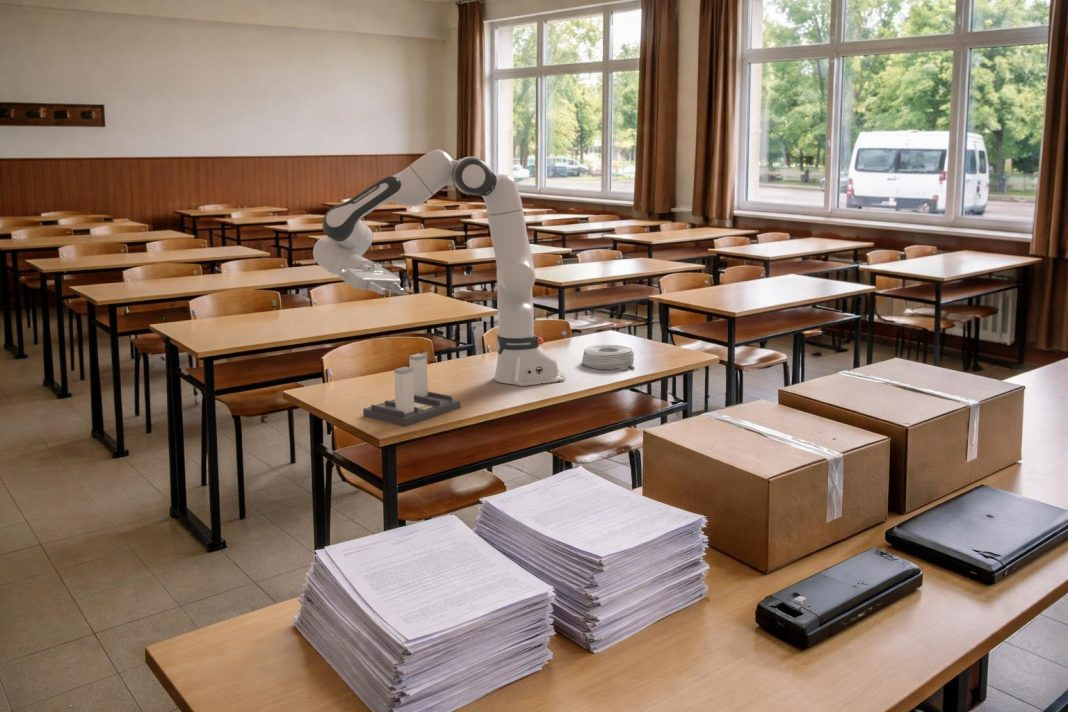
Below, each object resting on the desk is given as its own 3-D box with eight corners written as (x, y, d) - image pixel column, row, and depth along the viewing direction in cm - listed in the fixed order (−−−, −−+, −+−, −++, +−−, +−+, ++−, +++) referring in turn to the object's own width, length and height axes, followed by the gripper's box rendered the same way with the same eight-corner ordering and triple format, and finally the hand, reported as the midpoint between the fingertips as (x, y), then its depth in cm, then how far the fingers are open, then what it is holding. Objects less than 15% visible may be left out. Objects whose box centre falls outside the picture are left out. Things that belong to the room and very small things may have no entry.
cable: (636, 372, 306) (636, 354, 304) (582, 371, 306) (582, 353, 305) (631, 359, 323) (632, 342, 321) (581, 359, 323) (581, 342, 322)
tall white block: (410, 396, 266) (409, 355, 264) (420, 393, 269) (419, 353, 267) (418, 398, 265) (417, 357, 262) (427, 395, 268) (426, 354, 265)
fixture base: (363, 415, 256) (363, 404, 255) (418, 398, 273) (418, 388, 272) (405, 426, 246) (405, 414, 246) (460, 407, 264) (460, 396, 263)
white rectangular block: (395, 412, 251) (394, 369, 248) (406, 409, 254) (404, 366, 251) (403, 414, 249) (402, 370, 246) (414, 411, 252) (413, 368, 249)
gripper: (339, 260, 264) (375, 281, 259) (381, 263, 283) (416, 282, 277) (331, 280, 266) (367, 301, 261) (374, 282, 284) (408, 301, 279)
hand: (392, 292), depth 269 cm, fingers open, 8 cm apart
